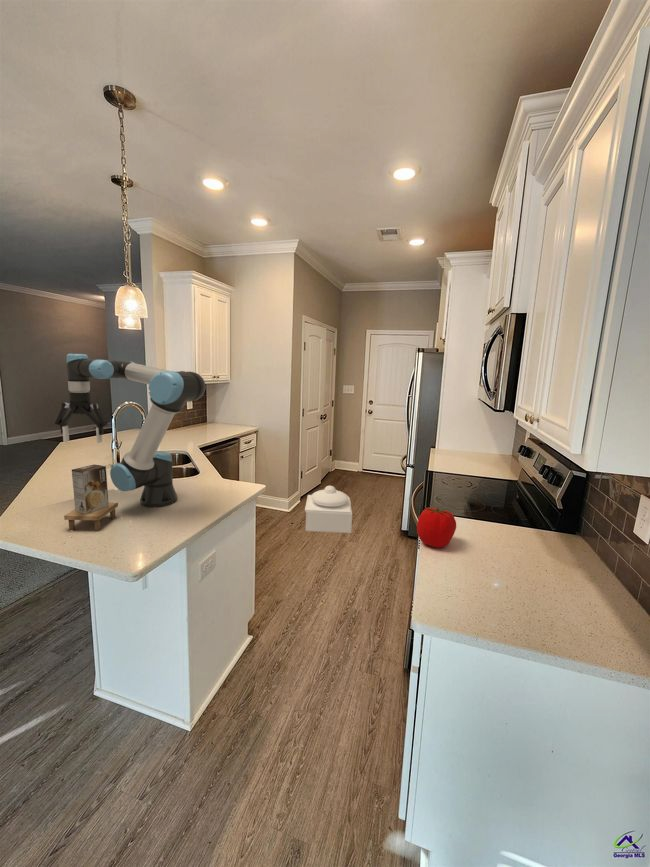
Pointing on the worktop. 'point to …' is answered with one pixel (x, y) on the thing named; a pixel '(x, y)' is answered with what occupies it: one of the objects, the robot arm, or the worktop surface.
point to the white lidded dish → (328, 511)
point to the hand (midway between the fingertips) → (83, 441)
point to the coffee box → (90, 488)
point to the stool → (91, 516)
